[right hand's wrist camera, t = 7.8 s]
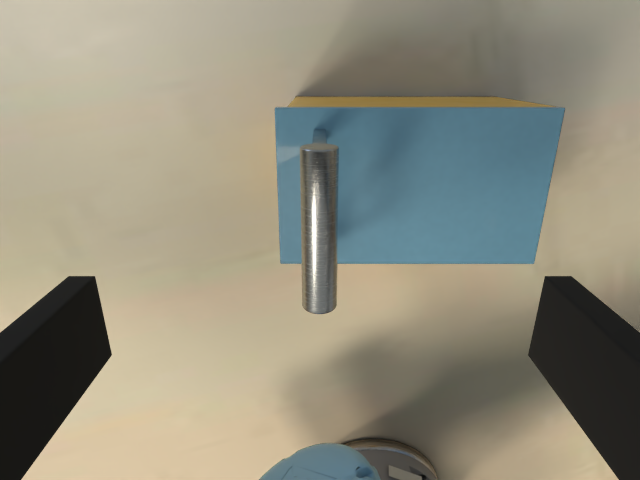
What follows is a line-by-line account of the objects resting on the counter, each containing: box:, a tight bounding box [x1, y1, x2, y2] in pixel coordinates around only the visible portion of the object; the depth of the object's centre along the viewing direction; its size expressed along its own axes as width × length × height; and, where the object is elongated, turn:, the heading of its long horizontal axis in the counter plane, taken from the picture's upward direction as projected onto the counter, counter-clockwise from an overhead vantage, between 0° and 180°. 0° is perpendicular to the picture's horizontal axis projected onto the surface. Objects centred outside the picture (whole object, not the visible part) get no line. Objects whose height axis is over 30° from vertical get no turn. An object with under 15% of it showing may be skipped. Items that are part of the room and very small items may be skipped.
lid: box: [275, 107, 565, 314], centre depth 23 cm, size 16×10×8 cm, turn 90°
